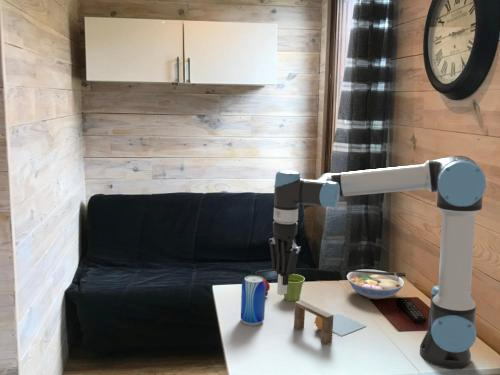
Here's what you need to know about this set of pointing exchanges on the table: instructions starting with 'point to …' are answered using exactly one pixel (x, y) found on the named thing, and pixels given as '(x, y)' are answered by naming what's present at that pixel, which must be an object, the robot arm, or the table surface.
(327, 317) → the bridge
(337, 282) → the table surface
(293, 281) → the plant pot
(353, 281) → the ramen bowl
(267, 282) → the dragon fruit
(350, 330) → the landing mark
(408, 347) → the table surface
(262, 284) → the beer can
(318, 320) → the ball
